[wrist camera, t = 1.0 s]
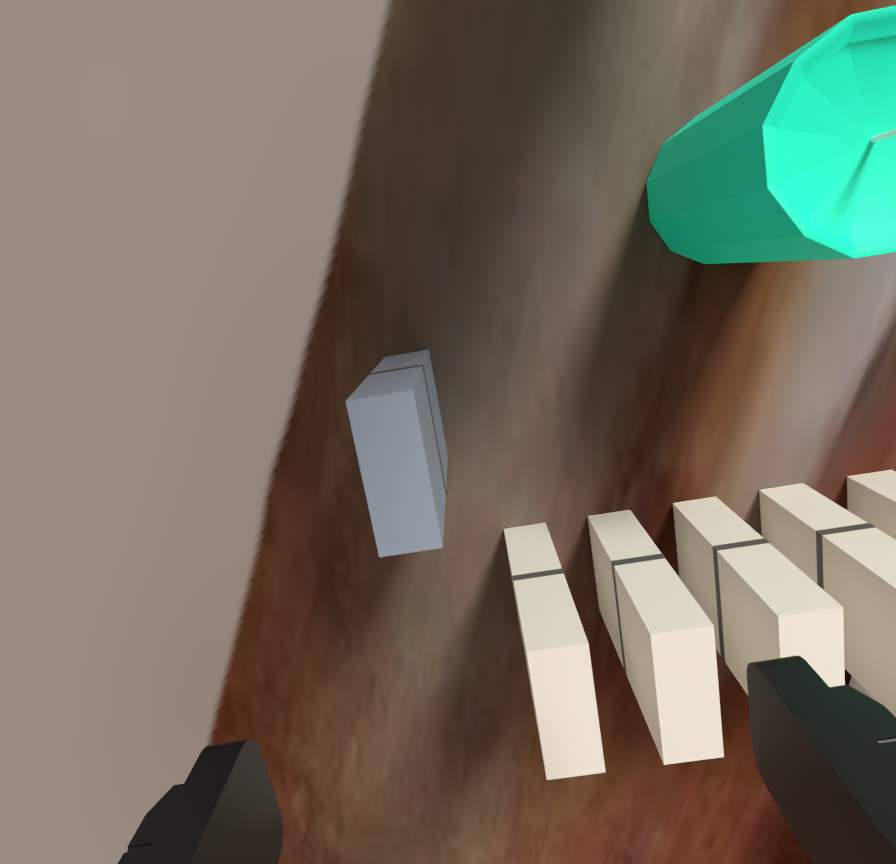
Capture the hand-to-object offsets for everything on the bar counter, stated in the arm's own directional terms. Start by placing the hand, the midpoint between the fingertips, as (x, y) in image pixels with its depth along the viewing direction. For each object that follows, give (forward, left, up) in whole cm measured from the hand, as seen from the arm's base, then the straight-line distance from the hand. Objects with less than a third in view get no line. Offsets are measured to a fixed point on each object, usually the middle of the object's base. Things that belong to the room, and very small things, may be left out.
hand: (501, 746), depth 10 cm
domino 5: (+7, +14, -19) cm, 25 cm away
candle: (-9, +12, -19) cm, 24 cm away
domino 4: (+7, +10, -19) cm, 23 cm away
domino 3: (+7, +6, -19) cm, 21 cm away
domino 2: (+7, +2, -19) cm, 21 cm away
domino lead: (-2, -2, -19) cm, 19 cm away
